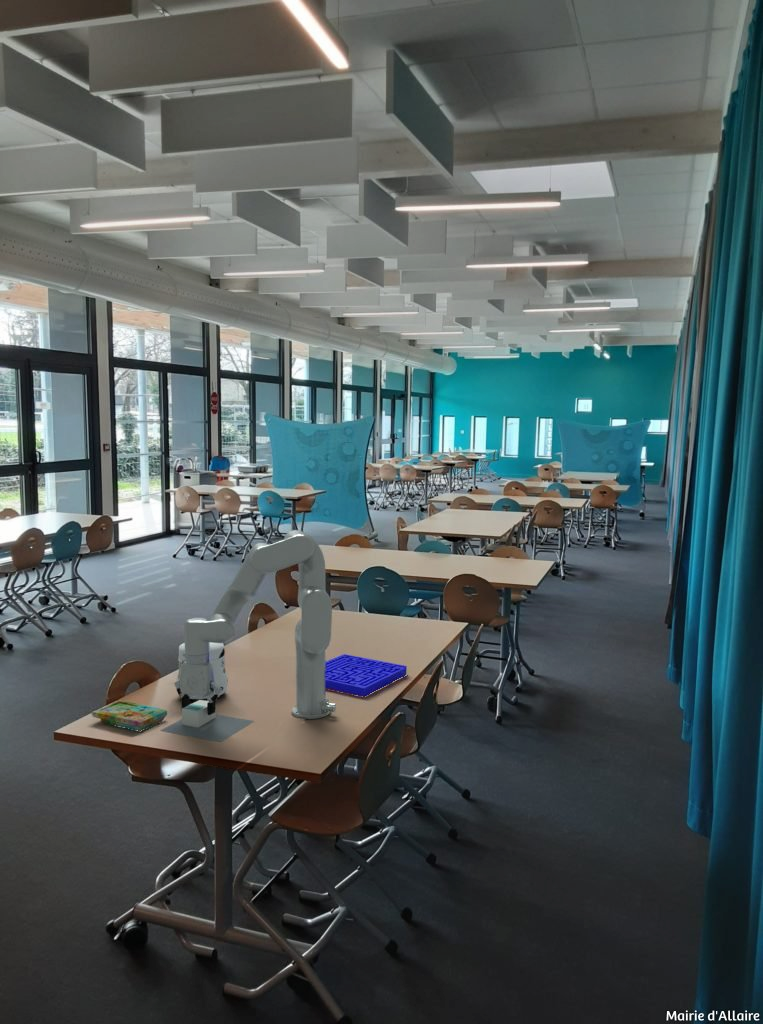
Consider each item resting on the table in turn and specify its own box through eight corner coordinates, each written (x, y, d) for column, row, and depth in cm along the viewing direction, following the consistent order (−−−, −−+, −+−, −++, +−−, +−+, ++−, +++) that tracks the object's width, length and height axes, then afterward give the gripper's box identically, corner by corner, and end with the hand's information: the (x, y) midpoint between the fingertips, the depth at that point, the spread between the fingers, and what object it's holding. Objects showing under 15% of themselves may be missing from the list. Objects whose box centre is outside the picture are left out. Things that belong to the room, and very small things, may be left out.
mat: (254, 722, 235) (254, 721, 235) (220, 744, 219) (220, 742, 219) (196, 712, 244) (196, 711, 244) (160, 732, 227) (160, 730, 227)
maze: (364, 699, 258) (364, 688, 258) (296, 684, 275) (296, 673, 274) (408, 676, 283) (408, 666, 283) (344, 663, 300) (344, 654, 299)
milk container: (237, 691, 265) (236, 641, 263) (210, 707, 249) (209, 654, 247) (195, 685, 271) (194, 637, 269) (166, 701, 254) (164, 649, 253)
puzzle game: (139, 720, 225) (91, 709, 234) (139, 735, 226) (92, 723, 235) (166, 707, 236) (120, 697, 245) (167, 722, 236) (120, 711, 245)
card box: (198, 727, 230) (197, 711, 229) (182, 724, 232) (181, 708, 231) (215, 717, 238) (215, 701, 237) (200, 714, 240) (199, 699, 240)
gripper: (167, 658, 233) (168, 711, 234) (213, 664, 226) (214, 719, 228) (182, 651, 240) (183, 703, 241) (227, 658, 233) (228, 711, 235)
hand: (198, 711), depth 235 cm, fingers open, 9 cm apart
